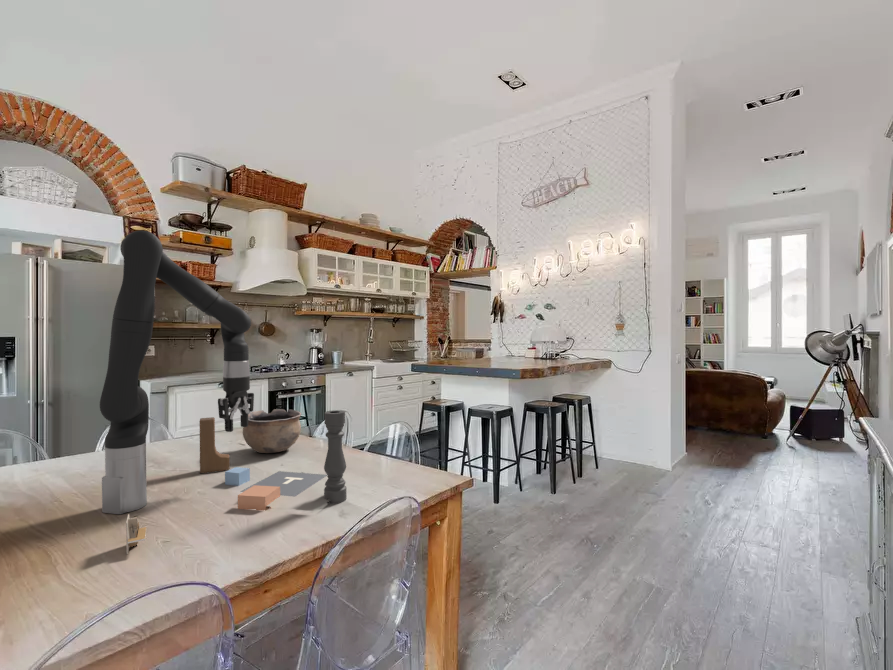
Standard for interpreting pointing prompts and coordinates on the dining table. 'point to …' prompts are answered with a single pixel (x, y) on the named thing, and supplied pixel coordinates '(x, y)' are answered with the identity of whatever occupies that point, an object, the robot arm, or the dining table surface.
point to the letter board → (290, 482)
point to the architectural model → (134, 532)
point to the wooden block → (210, 449)
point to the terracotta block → (258, 497)
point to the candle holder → (335, 458)
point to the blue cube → (237, 476)
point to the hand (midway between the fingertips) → (237, 428)
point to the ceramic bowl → (272, 430)
